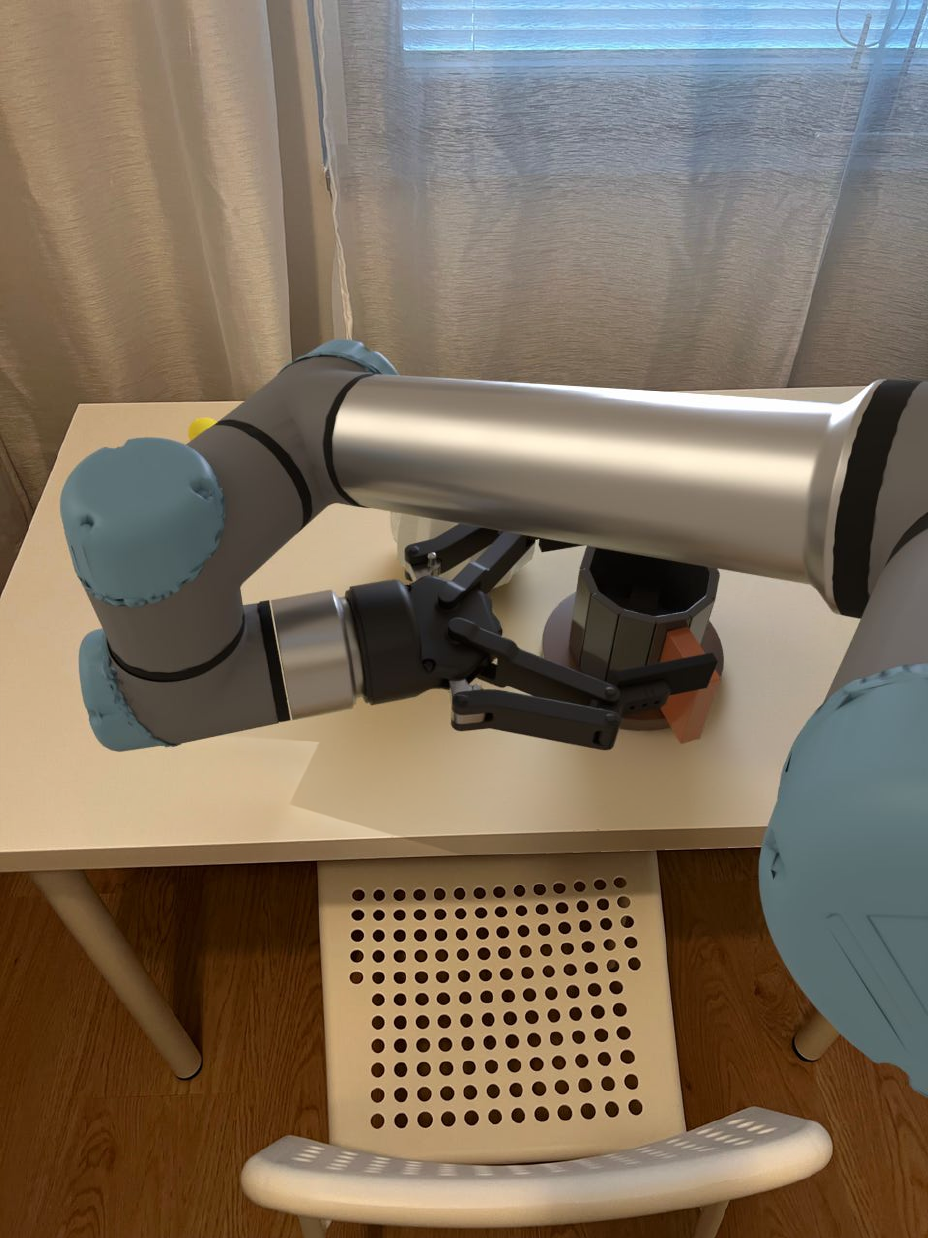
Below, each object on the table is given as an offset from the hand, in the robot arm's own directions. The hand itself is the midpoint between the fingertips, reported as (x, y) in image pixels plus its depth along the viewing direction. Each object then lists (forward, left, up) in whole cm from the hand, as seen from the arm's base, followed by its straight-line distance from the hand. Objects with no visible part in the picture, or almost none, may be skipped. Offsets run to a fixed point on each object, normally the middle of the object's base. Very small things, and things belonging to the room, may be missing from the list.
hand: (667, 590), depth 62 cm
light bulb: (+51, -26, -20) cm, 61 cm away
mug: (+1, -8, -18) cm, 20 cm away
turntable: (+2, -10, -20) cm, 23 cm away
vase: (+20, -17, -20) cm, 33 cm away
